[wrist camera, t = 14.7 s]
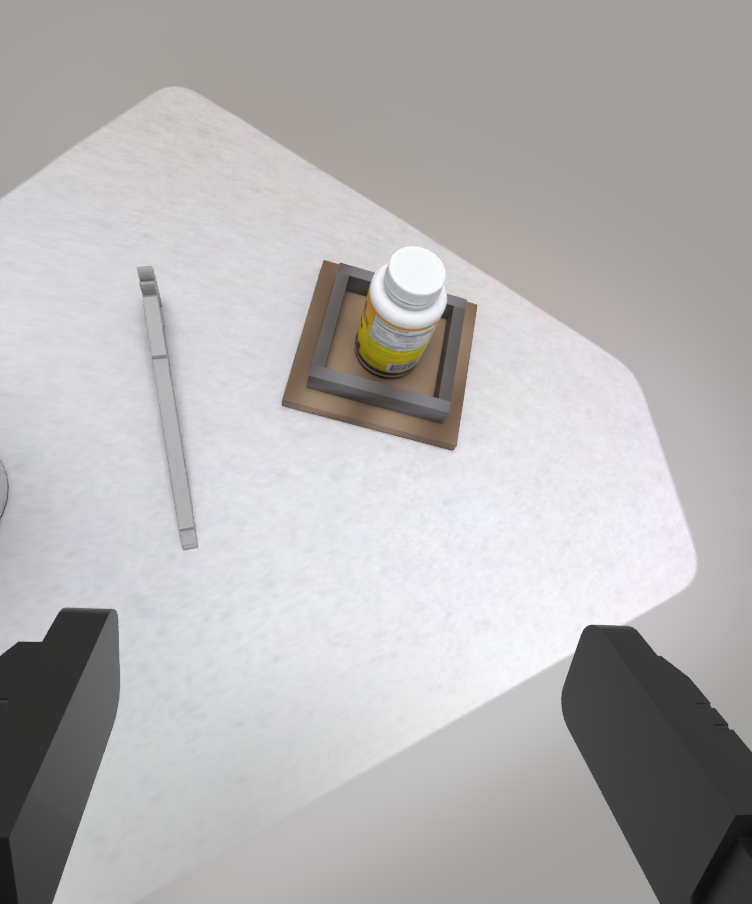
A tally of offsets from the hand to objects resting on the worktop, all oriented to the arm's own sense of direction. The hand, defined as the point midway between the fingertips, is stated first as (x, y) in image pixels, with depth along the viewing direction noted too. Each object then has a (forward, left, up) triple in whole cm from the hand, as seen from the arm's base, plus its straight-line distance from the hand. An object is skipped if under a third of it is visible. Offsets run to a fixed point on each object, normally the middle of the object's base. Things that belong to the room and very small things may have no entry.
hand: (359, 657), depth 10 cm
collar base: (+2, +26, -30) cm, 40 cm away
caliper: (-12, +16, -31) cm, 37 cm away
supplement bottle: (+2, +26, -30) cm, 40 cm away
